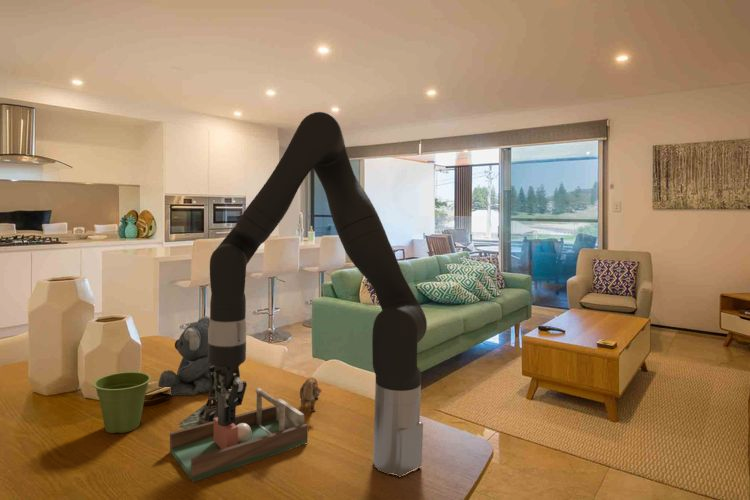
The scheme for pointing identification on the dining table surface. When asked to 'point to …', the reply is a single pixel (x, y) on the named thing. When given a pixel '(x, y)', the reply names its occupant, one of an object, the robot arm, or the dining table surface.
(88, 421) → the dining table surface
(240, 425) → the ball
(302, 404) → the lion figurine
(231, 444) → the striker
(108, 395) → the plant pot
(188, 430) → the pitch
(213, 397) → the eiffel tower figurine
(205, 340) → the koala plush
